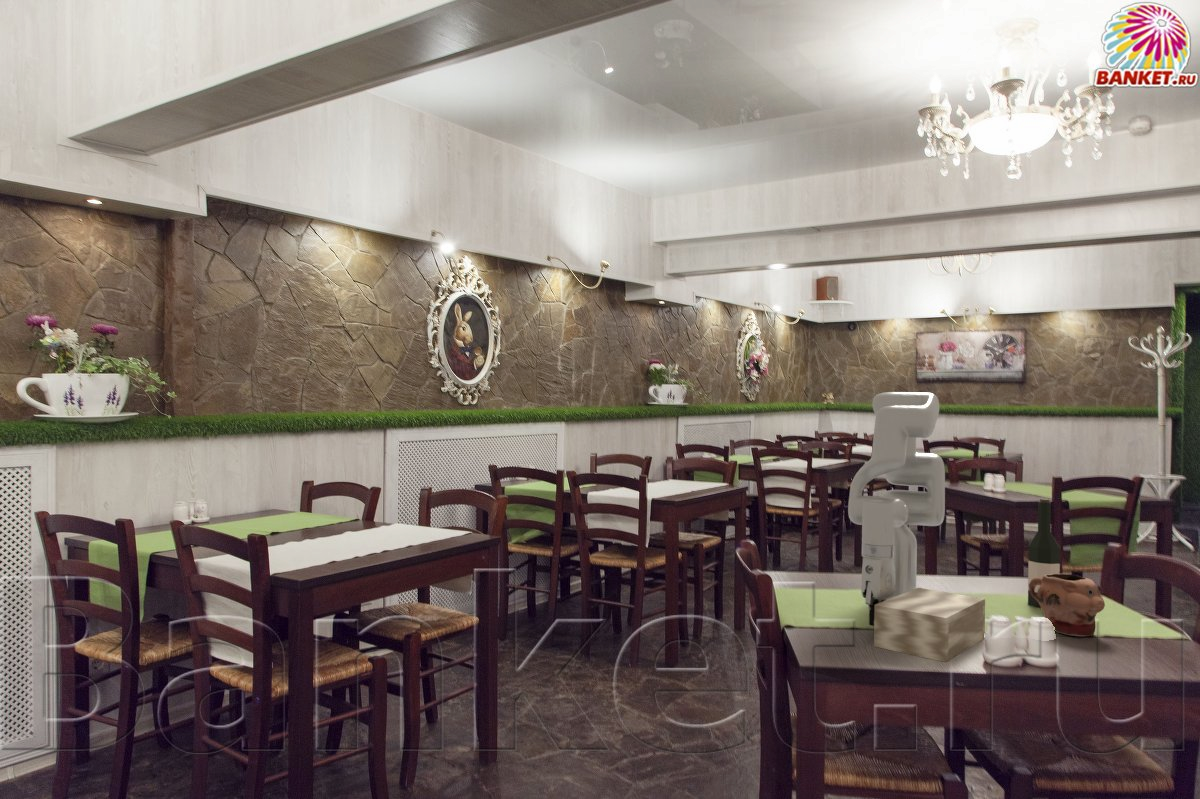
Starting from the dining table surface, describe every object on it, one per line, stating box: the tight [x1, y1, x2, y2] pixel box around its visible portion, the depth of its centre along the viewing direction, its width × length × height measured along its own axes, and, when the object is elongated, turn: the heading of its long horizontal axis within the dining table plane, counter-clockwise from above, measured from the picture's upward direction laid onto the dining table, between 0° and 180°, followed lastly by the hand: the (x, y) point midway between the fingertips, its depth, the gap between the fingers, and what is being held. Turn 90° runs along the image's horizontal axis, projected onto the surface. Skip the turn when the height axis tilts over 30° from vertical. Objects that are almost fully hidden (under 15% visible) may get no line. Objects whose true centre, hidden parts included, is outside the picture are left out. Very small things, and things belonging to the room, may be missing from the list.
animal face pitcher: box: [1029, 573, 1106, 637], centre depth 201 cm, size 20×12×14 cm, turn 28°
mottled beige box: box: [873, 587, 986, 663], centre depth 189 cm, size 16×26×10 cm, turn 137°
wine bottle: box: [1027, 498, 1061, 609], centre depth 228 cm, size 8×8×30 cm
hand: (876, 625), depth 197 cm, fingers closed
